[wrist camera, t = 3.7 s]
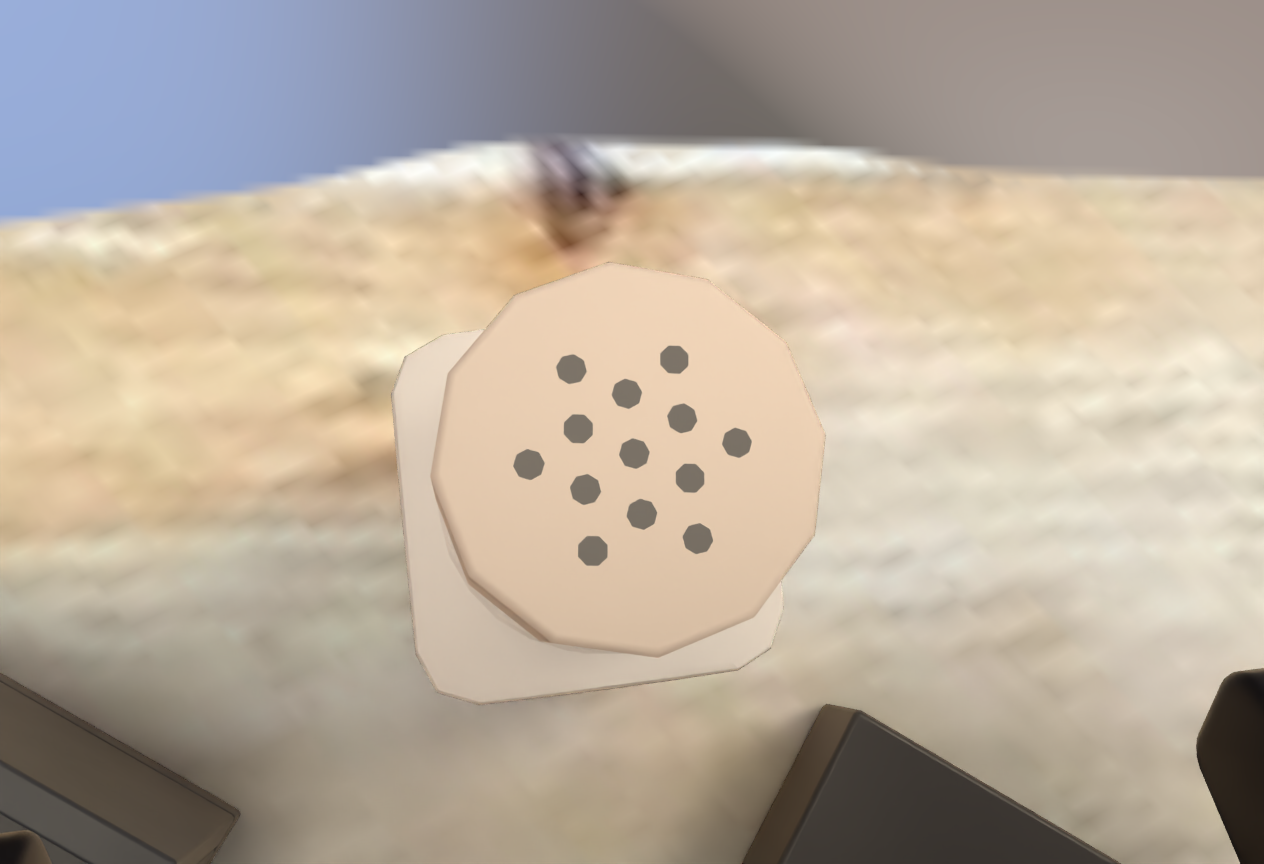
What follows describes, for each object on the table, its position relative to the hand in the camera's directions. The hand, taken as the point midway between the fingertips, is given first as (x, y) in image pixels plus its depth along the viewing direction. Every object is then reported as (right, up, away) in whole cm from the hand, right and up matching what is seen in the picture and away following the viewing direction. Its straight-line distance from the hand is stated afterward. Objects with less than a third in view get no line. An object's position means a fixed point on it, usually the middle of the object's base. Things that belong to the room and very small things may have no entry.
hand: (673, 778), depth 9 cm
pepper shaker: (-2, +1, +10) cm, 10 cm away
